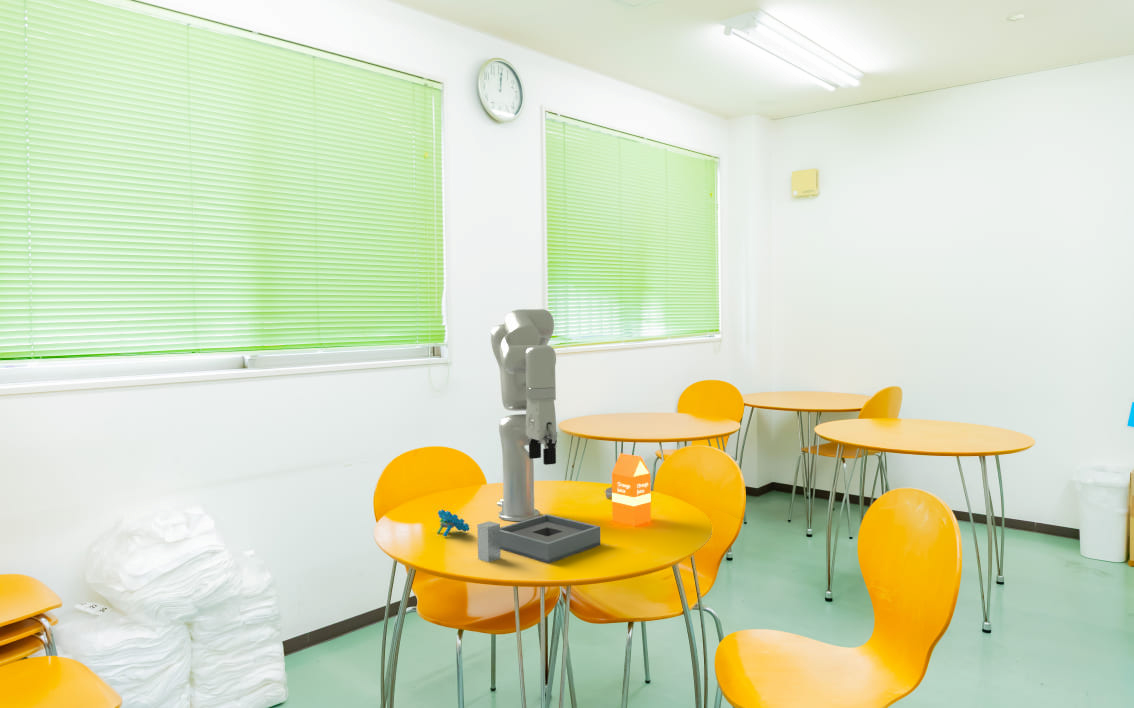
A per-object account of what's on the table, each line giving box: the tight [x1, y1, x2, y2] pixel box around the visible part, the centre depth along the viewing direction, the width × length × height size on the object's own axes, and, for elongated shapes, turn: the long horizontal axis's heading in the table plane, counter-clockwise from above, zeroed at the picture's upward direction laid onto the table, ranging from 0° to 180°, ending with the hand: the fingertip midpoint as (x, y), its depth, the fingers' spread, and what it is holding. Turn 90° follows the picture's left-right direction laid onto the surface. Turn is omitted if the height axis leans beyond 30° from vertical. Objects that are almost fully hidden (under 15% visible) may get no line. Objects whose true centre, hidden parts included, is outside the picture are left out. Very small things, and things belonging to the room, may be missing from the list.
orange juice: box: [611, 453, 652, 527], centre depth 212 cm, size 8×9×20 cm
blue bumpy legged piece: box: [436, 509, 471, 538], centre depth 200 cm, size 11×6×10 cm
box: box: [500, 513, 601, 565], centre depth 189 cm, size 20×20×5 cm
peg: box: [477, 521, 502, 563], centre depth 179 cm, size 4×4×9 cm
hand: (542, 461), depth 182 cm, fingers open, 9 cm apart
